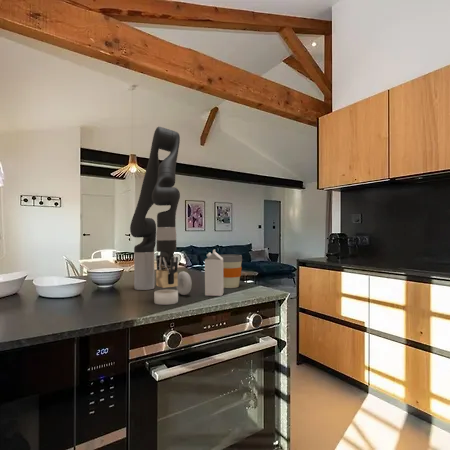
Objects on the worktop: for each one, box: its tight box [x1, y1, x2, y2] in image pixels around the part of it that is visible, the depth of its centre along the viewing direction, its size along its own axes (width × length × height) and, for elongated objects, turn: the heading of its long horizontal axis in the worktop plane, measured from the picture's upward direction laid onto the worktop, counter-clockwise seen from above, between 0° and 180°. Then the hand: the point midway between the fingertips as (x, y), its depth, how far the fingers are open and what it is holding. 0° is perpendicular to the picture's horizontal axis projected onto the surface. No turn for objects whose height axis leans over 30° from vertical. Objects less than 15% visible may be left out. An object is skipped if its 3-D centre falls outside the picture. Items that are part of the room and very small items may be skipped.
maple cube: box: [155, 269, 179, 289], centre depth 130 cm, size 6×6×6 cm
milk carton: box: [204, 249, 225, 297], centre depth 145 cm, size 7×7×19 cm
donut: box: [175, 270, 193, 296], centre depth 144 cm, size 10×4×10 cm, turn 39°
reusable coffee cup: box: [219, 253, 243, 289], centre depth 164 cm, size 13×13×15 cm
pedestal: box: [153, 288, 179, 305], centre depth 130 cm, size 9×9×4 cm
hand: (166, 282), depth 130 cm, fingers closed on maple cube, 6 cm apart
